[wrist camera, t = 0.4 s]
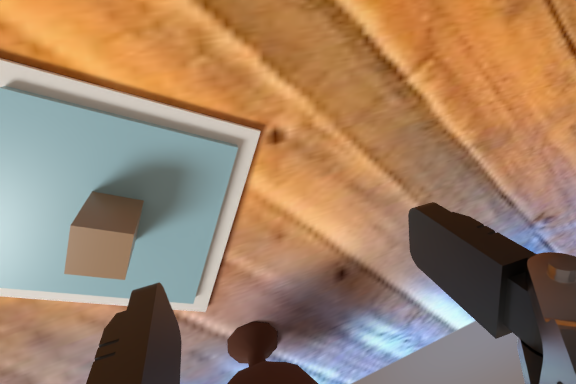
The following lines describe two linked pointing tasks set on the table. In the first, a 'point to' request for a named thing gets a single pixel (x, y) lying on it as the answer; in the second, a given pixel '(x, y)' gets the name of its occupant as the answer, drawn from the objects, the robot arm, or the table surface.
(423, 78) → the table surface
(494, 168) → the table surface
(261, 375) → the ice cream bowl
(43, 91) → the mat
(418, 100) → the table surface
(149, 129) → the cover sheet
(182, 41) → the table surface
